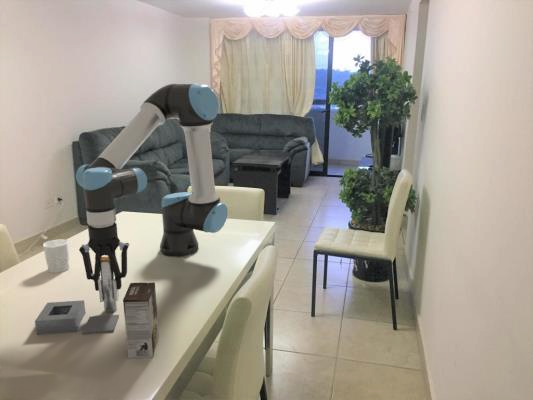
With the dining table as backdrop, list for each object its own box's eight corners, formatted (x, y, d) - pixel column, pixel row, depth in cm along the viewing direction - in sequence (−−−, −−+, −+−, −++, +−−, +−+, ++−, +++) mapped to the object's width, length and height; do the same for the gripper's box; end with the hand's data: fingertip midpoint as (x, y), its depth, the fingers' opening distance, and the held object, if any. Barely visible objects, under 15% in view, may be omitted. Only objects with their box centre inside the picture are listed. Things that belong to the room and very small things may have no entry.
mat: (118, 316, 125) (118, 314, 125) (113, 331, 117) (113, 329, 117) (89, 318, 124) (89, 316, 123) (82, 334, 116) (82, 332, 116)
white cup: (61, 274, 151) (58, 248, 149) (41, 272, 153) (37, 246, 150) (75, 265, 159) (72, 240, 156) (56, 263, 160) (53, 238, 158)
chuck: (85, 312, 127) (84, 300, 126) (76, 331, 117) (74, 318, 116) (49, 315, 125) (47, 302, 124) (36, 334, 116) (34, 321, 115)
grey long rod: (117, 306, 130) (112, 254, 126) (115, 312, 127) (110, 259, 122) (106, 307, 130) (100, 255, 125) (103, 313, 126) (98, 260, 122)
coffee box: (134, 338, 114) (130, 282, 110) (159, 336, 115) (155, 281, 111) (127, 359, 106) (121, 299, 101) (154, 358, 106) (149, 298, 102)
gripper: (134, 218, 126) (140, 291, 132) (74, 220, 123) (83, 295, 130) (130, 226, 119) (136, 303, 125) (67, 229, 116) (76, 307, 123)
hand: (109, 299), depth 127 cm, fingers closed on grey long rod, 3 cm apart
